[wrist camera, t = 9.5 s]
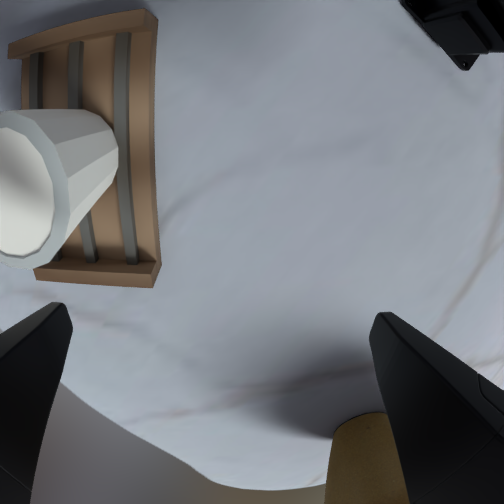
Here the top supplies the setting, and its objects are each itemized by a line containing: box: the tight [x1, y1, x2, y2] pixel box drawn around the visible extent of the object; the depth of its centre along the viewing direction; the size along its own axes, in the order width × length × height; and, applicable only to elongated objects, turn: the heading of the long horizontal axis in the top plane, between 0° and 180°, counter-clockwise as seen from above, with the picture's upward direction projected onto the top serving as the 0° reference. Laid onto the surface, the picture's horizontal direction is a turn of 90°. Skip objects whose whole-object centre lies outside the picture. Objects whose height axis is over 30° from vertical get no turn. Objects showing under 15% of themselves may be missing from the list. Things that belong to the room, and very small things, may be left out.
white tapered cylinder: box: [0, 109, 118, 270], centre depth 12 cm, size 7×7×7 cm
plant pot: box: [324, 412, 410, 504], centre depth 26 cm, size 15×15×16 cm
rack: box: [8, 8, 162, 288], centre depth 16 cm, size 16×9×3 cm, turn 177°
